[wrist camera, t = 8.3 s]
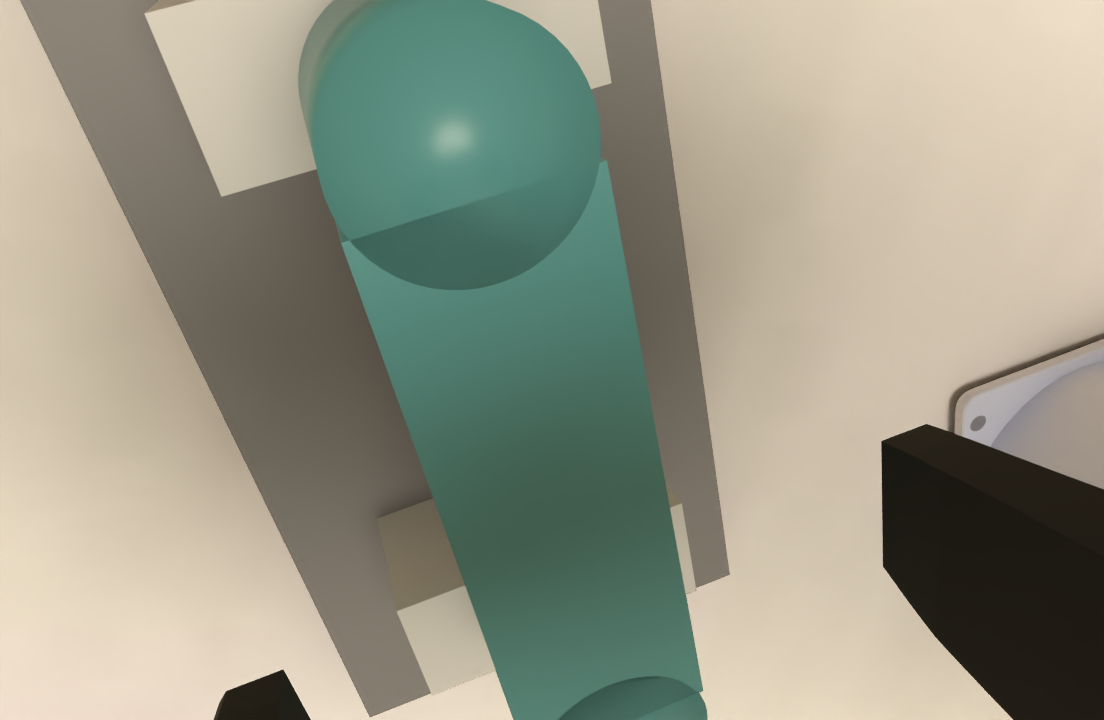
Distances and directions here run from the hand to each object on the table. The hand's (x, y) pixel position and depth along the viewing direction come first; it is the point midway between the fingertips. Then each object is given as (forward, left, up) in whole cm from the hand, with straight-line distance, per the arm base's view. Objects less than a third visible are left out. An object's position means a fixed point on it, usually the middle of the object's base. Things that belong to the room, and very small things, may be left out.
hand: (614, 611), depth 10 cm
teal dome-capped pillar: (0, 0, -6) cm, 6 cm away
